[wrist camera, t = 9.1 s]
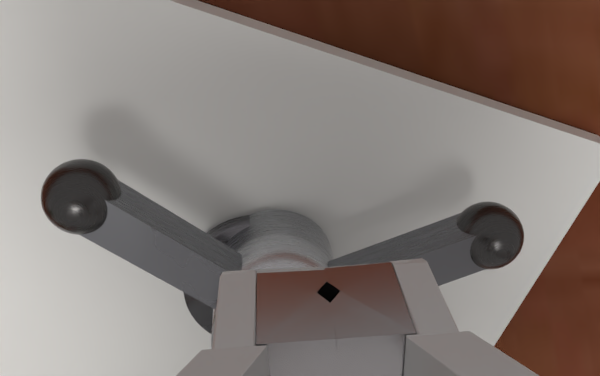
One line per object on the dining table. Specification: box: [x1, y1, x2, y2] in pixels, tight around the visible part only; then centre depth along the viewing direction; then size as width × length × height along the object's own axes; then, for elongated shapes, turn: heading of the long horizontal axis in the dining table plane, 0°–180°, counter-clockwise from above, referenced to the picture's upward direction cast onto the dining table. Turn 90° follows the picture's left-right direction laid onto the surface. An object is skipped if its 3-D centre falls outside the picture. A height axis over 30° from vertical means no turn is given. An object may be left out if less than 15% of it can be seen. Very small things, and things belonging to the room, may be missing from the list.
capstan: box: [41, 159, 524, 347], centre depth 19 cm, size 15×13×5 cm
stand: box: [0, 0, 600, 376], centre depth 20 cm, size 22×21×10 cm
